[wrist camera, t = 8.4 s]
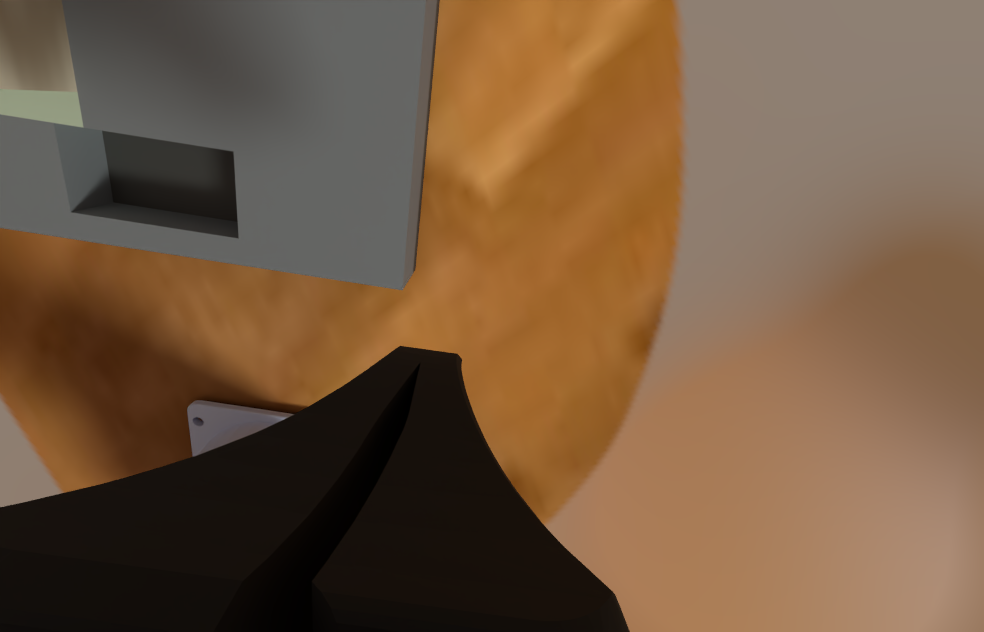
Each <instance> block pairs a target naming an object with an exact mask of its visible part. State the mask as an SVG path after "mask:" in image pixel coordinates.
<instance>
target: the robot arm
mask: <svg viewBox="0 0 984 632" xmlns="http://www.w3.org/2000/svg"><path fill="white" fill-rule="evenodd" d="M461 364H462V359H461V358H460V356H459V355H458V354H454V353H447V352H440V351H433V350H426V349H419V348H411V347H404V346H399V347H398V348H396V349H395V350H394V351H392V352H391V353H389V354H388V355H387V356H385V357H384V358H382V359H381V360H380V361H378V362H377V363H376V364H374V365H373V366H371V367H370V368H369V369H367V370H366V371H364V372H363V373H362V374H360V375H359V376H357V377H356V378H354V379H353V380H351V381H350V382H348V383H347V384H345V385H344V386H342V387H341V388H339V389H337V390H336V391H334V392H332V393H331V394H329V395H327V396H326V397H324V398H322V399H321V400H319V401H317V402H316V403H314V404H312V405H311V406H309V407H307V408H305V409H303V410H302V411H300V412H298V413H296V414H290V413H283V412H277V411H270V410H263V409H257V408H250V407H243V406H237V405H230V404H223V403H217V402H210V401H203V400H196V401H194V402H192V403H191V404H190V405H189V406H188V408H187V414H188V422H189V431H190V439H191V447H192V456H193V457H191V458H188V459H185V460H182V461H178V462H175V463H172V464H169V465H166V466H163V467H160V468H156V469H153V470H150V471H146V472H143V473H139V474H136V475H133V476H129V477H126V478H122V479H119V480H115V481H111V482H107V483H104V484H100V485H96V486H92V487H87V488H83V489H79V490H75V491H70V492H66V493H62V494H58V495H54V496H49V497H45V498H41V499H37V500H32V501H28V502H24V503H19V504H15V505H10V506H5V507H0V632H630V631H629V629H628V626H627V624H626V621H625V618H624V616H623V613H622V611H621V608H620V606H619V603H618V601H617V598H616V596H615V594H614V593H613V592H612V591H611V590H610V589H609V588H608V587H607V586H606V585H605V584H604V583H603V582H602V581H601V580H599V579H598V578H597V577H596V576H595V575H594V574H593V573H592V572H591V571H590V570H589V569H587V568H586V567H585V566H584V565H583V564H582V563H581V562H580V561H579V560H578V559H577V558H576V557H574V556H573V555H572V554H571V553H570V552H569V551H568V550H567V549H566V548H565V547H564V546H563V545H562V544H561V543H560V542H559V541H558V540H557V539H556V538H555V537H554V536H553V535H552V534H551V533H550V531H548V529H547V528H546V527H545V526H544V525H543V524H542V523H541V521H540V520H539V519H538V517H537V516H536V515H535V514H534V512H533V511H532V510H531V509H530V507H529V506H528V505H527V503H526V502H525V501H524V500H523V498H522V497H521V496H520V495H519V493H518V492H517V491H516V489H515V488H514V487H513V485H512V484H511V482H510V481H509V479H508V478H507V476H506V475H505V473H504V472H503V470H502V468H501V467H500V465H499V463H498V462H497V460H496V458H495V457H494V455H493V453H492V451H491V450H490V448H489V446H488V444H487V442H486V440H485V438H484V436H483V434H482V432H481V429H480V427H479V425H478V423H477V420H476V418H475V415H474V413H473V410H472V407H471V405H470V402H469V399H468V396H467V393H466V389H465V386H464V381H463V377H462V370H461ZM198 418H201V419H202V420H203V421H201V420H200V419H198Z"/></svg>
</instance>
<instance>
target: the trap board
mask: <svg viewBox="0 0 984 632" xmlns="http://www.w3.org/2000/svg"><path fill="white" fill-rule="evenodd" d="M439 1H440V0H62V5H63V11H64V17H65V23H66V29H67V35H68V40H69V46H70V52H71V58H72V64H73V69H74V75H75V81H76V87H77V92H62V91H36V90H11V89H0V228H5V229H11V230H18V231H24V232H31V233H37V234H44V235H50V236H56V237H63V238H69V239H76V240H82V241H89V242H95V243H102V244H108V245H115V246H121V247H127V248H134V249H140V250H147V251H153V252H160V253H166V254H173V255H179V256H185V257H192V258H198V259H205V260H211V261H218V262H224V263H231V264H237V265H243V266H250V267H256V268H263V269H269V270H276V271H282V272H289V273H295V274H301V275H308V276H314V277H321V278H327V279H334V280H340V281H347V282H353V283H360V284H366V285H372V286H379V287H385V288H392V289H398V290H403V288H404V287H405V285H406V284H407V282H408V280H409V279H410V277H411V276H412V274H413V272H414V271H415V267H416V256H417V244H418V233H419V222H420V211H421V200H422V189H423V178H424V167H425V156H426V145H427V134H428V123H429V112H430V100H431V89H432V78H433V67H434V56H435V45H436V34H437V23H438V12H439Z"/></svg>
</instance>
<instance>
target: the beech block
mask: <svg viewBox="0 0 984 632" xmlns="http://www.w3.org/2000/svg"><path fill="white" fill-rule="evenodd" d="M0 89H11V90H36V91H62V92H77V87H76V81H75V75H74V69H73V64H72V58H71V52H70V46H69V40H68V35H67V29H66V23H65V17H64V11H63V5H62V0H0Z"/></svg>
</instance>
